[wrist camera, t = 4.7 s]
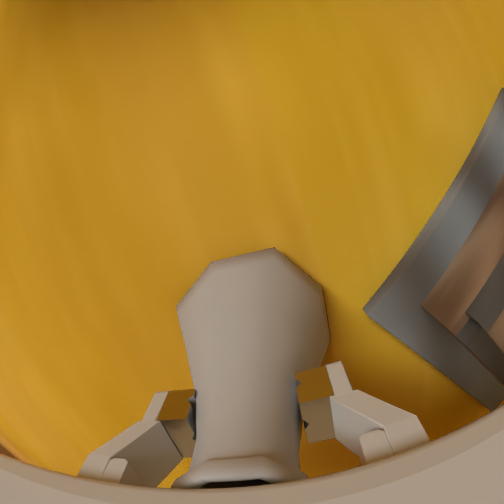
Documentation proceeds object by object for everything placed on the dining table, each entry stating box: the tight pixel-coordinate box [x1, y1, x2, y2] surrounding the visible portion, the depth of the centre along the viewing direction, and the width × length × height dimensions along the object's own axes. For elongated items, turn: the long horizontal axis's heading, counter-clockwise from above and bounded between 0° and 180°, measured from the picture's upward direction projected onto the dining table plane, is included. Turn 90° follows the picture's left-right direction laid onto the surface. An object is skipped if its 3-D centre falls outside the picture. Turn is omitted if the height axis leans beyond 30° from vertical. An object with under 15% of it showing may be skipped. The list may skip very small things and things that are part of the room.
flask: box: [171, 247, 330, 489], centre depth 10 cm, size 7×7×10 cm
